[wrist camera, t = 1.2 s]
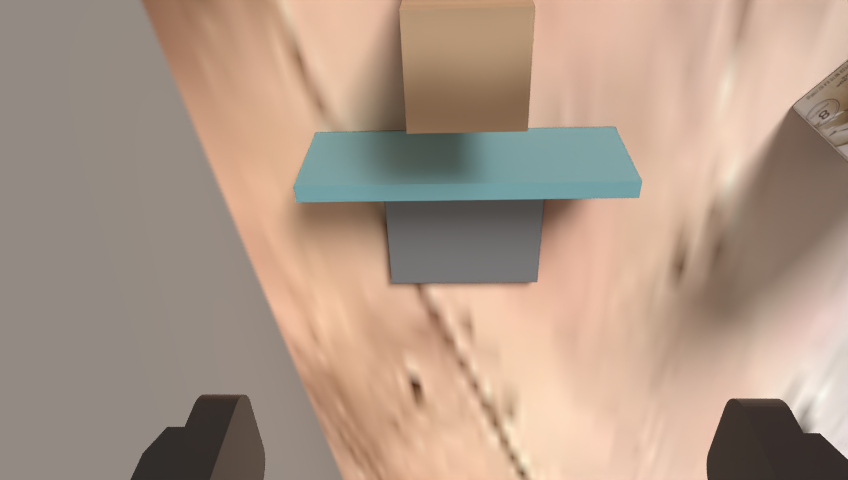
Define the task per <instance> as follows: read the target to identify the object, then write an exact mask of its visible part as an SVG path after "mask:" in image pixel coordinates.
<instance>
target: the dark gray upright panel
mask: <svg viewBox="0 0 848 480" xmlns="http://www.w3.org/2000/svg"><path fill="white" fill-rule="evenodd" d="M543 206H544V199H516V200H441V201H385V209H386V220H387V232H388V243H389V255H390V266H391V278H392V283H473V282H537V279H538V267H539V255H540V243H541V231H542V219H543Z"/></svg>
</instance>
